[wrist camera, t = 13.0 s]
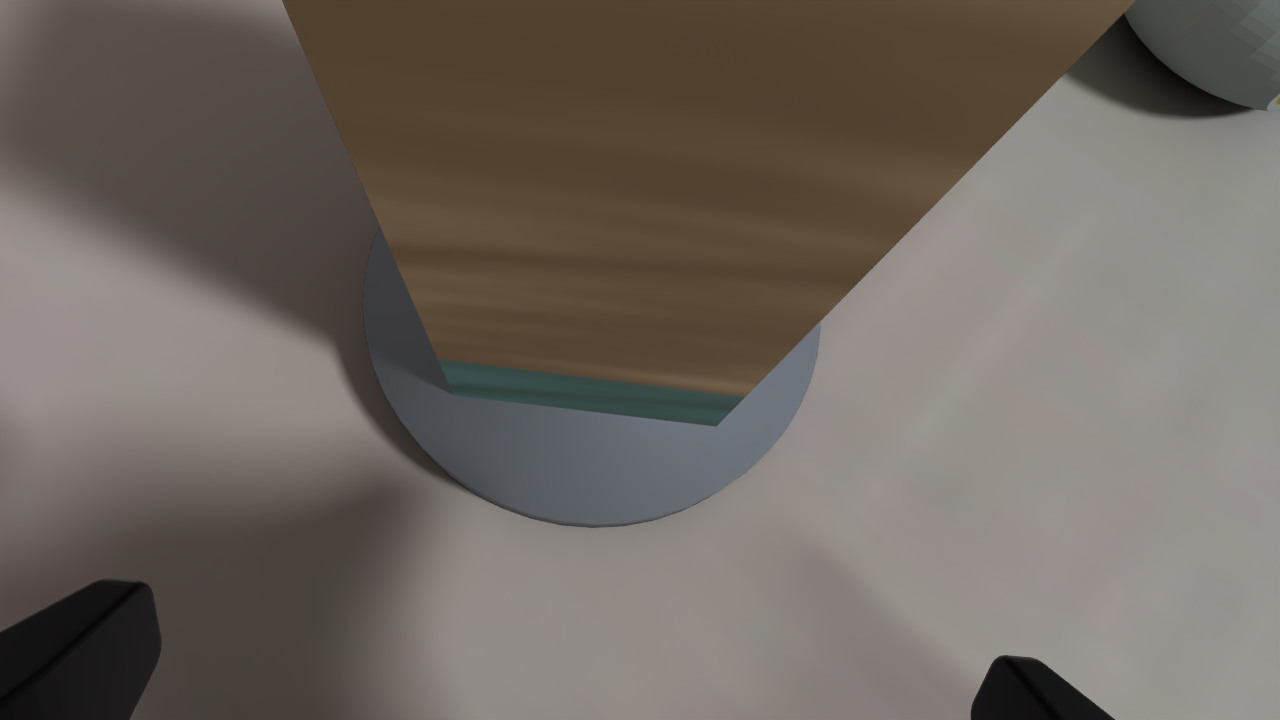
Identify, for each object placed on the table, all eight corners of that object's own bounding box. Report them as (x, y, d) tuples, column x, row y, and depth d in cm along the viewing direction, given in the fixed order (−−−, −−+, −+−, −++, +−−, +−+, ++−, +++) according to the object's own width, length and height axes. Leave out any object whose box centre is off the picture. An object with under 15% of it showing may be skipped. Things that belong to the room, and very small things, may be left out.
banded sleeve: (716, 426, 16) (1156, -21, 5) (453, 394, 16) (193, -204, 4) (728, 201, 18) (1057, -509, 7) (495, 167, 18) (402, -677, 6)
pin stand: (455, 604, 16) (415, 605, 11) (322, 188, 18) (242, 38, 13) (875, 430, 18) (998, 367, 13) (703, 89, 21) (752, -67, 16)
